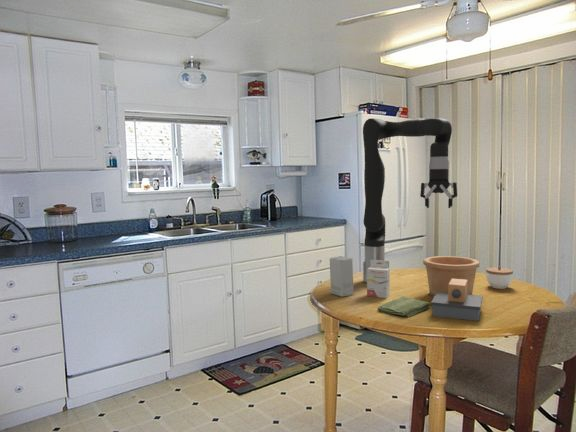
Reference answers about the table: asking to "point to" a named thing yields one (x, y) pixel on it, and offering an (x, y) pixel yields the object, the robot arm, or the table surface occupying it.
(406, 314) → the washcloth
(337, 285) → the skincare box
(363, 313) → the table surface
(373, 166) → the robot arm
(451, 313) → the stand
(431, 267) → the pottery
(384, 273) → the ink cartridge box
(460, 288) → the block
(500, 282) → the lidded jar
